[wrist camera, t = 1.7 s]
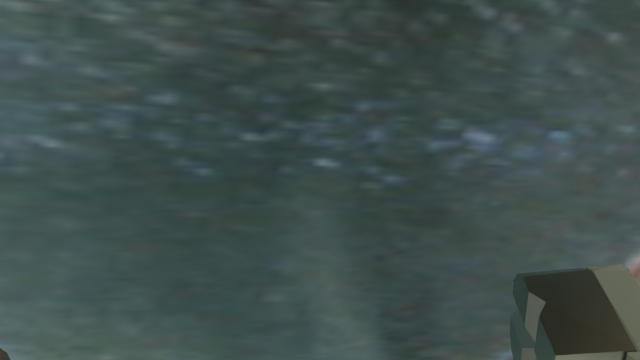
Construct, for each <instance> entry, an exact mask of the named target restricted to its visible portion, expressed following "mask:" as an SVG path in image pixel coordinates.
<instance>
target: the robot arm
mask: <svg viewBox="0 0 640 360" xmlns="http://www.w3.org/2000/svg"><path fill="white" fill-rule="evenodd" d="M513 296H514V299H515V301H516V304H517V307H518V309H517V310H516V311H515V312H514V313H513V314H512V315H511V319H510V339H511V350H512V354H513V358H514V360H640V285H639V284H638V282H637V281H636V279H635V278H634V276H633V275H632V273H631V272H630V270H629V269H628V268H627V267H625V266H624V265H622V264H617V265H606V266H595V267H586V268H577V269H565V270H553V271H542V272H530V273H518V274H516V277H515V279H514V285H513ZM0 360H10V358H9V356H8V354H7V352H5V351H4V350H2V349H0Z"/></svg>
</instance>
